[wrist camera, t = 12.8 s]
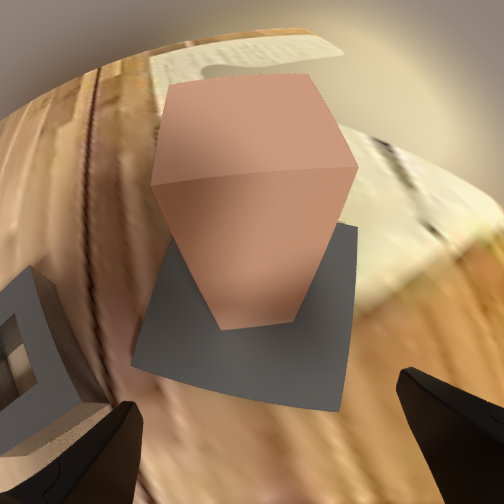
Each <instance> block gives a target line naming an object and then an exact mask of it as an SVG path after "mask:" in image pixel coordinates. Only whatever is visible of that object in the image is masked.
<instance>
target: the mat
mask: <svg viewBox="0 0 504 504" xmlns="http://www.w3.org/2000/svg"><path fill="white" fill-rule="evenodd" d="M357 237H358V227H355V226H350V225H345V224H340V223H337V224H336V227H335V229H334V231H333V234H332V236H331V239H330V241H329V243H328V246H327V248H326V250H325V253H324V255H323V257H322V260H321V262H320V264H319V267H318V269H317V271H316V273H315V276H314V278H313V280H312V282H311V284H310V287H309V289H308V291H307V293H306V295H305V298H304V300H303V302H302V304H301V306H300V308H299V310H298V312H297V315H296V317H295V319H294V321H293V322H288V323H281V324H273V325H266V326H257V327H249V328H239V329H230V330H221V329H220V327H219V326H218V324H217V322H216V320H215V318H214V316H213V314H212V313H211V311H210V309H209V307H208V305H207V303H206V301H205V299H204V297H203V295H202V294H201V292H200V290H199V288H198V286H197V284H196V282H195V280H194V278H193V276H192V274H191V272H190V270H189V268H188V266H187V264H186V262H185V260H184V258H183V256H182V254H181V252H180V250H179V248H178V245H177V243H176V241H175V239H174V237H173V239H172V241H171V244H170V246H169V249H168V252H167V254H166V257H165V260H164V262H163V265H162V268H161V271H160V274H159V276H158V279H157V282H156V285H155V288H154V291H153V294H152V297H151V300H150V303H149V306H148V309H147V312H146V315H145V318H144V321H143V324H142V328H141V331H140V334H139V337H138V341H137V344H136V347H135V351H134V354H133V358H132V361H131V366H133V367H136V368H139V369H142V370H144V371H147V372H150V373H153V374H156V375H159V376H162V377H166V378H169V379H172V380H175V381H178V382H182V383H185V384H189V385H192V386H196V387H200V388H203V389H207V390H211V391H215V392H219V393H223V394H227V395H232V396H236V397H241V398H246V399H250V400H255V401H261V402H266V403H272V404H278V405H284V406H290V407H297V408H304V409H312V410H321V411H331V412H339V409H340V404H341V398H342V393H343V387H344V381H345V374H346V368H347V361H348V353H349V346H350V337H351V328H352V319H353V308H354V296H355V282H356V265H357Z"/></svg>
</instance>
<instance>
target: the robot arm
mask: <svg viewBox="0 0 504 504" xmlns="http://www.w3.org/2000/svg"><path fill="white" fill-rule="evenodd" d="M396 392H397V395H398V397H399V400H400V403H401V405H402V408H403V411H404V413H405V416H406V419H407V422H408V424H409V427H410V429H411V431H412V433H413V435H414V437H415V439H416V441H417V443H418V445H419V447H420V449H421V451H422V453H423V456H424V458H425V460H426V462H427V464H428V466H429V468H430V471H431V473H432V475H433V477H434V479H435V482H436V484H437V486H438V488H439V491H440V493H441V495H442V498H443V500H444V502H445V504H504V408H503V407H500V406H498V405H495V404H493V403H490V402H487V401H486V400H483V399H481V398H479V397H477V396H474V395H472V394H470V393H468V392H465V391H463V390H461V389H459V388H457V387H454V386H452V385H450V384H448V383H446V382H444V381H441V380H439V379H437V378H435V377H433V376H431V375H428V374H426V373H424V372H422V371H420V370H418V369H416V368H414V367H408V368H405V369H402V370H401V371H400V374H399V378H398V381H397V385H396ZM142 433H143V417H142V415H141V413H140V411H139V409H138V407H137V405H136V403H135V402H133V401H123V402H121V403H120V404H119V405H118V406H117V407H116V408H114V409H113V410H112V411H111V412H110V413H109V414H108V415H106V416H105V417H104V418H103V419H102V420H101V421H99V422H98V423H97V424H96V425H95V426H94V427H93V428H91V429H90V430H89V431H88V432H87V433H86V434H84V435H83V436H82V437H81V438H80V439H78V440H77V441H76V442H75V443H74V444H73V445H71V446H70V447H69V448H68V449H67V450H65V451H64V452H63V453H62V454H61V455H60V456H59V457H57V458H56V459H55V460H53V461H52V462H51V463H50V464H48V465H47V466H46V467H45V468H43V469H42V470H41V471H39V472H38V473H36V474H35V475H33V476H32V477H30V478H29V479H27V480H25V481H24V482H22V483H20V484H19V485H17V486H16V487H14V488H12V489H10V490H9V491H6V492H2V493H0V504H133V498H134V492H135V486H136V481H137V475H138V470H139V465H140V458H141V446H142Z"/></svg>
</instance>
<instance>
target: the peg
mask: <svg viewBox="0 0 504 504" xmlns="http://www.w3.org/2000/svg"><path fill="white" fill-rule="evenodd" d="M357 170H358V165H357V163H356V161H355V159H354V156H353V154H352V152H351V150H350V148H349V146H348V144H347V142H346V140H345V138H344V136H343V134H342V132H341V131H340V129H339V127H338V125H337V123H336V121H335V119H334V117H333V116H332V114H331V112H330V110H329V108H328V107H327V105H326V103H325V101H324V100H323V98H322V96H321V95H320V93H319V91H318V89H317V88H316V86H315V85H314V83H313V81H312V80H311V78H310V76H309V75H308V74H260V75H244V76H232V77H221V78H213V79H204V80H197V81H190V82H184V83H178V84H172V85H169V88H168V92H167V96H166V101H165V105H164V110H163V115H162V120H161V125H160V130H159V135H158V140H157V146H156V152H155V158H154V164H153V171H152V178H151V185H150V186H151V189H152V191H153V193H154V196H155V198H156V200H157V202H158V204H159V207H160V209H161V211H162V213H163V216H164V218H165V220H166V222H167V224H168V226H169V229H170V231H171V233H172V235H173V237H174V239H175V241H176V243H177V245H178V248H179V250H180V252H181V254H182V256H183V258H184V260H185V262H186V264H187V266H188V268H189V270H190V272H191V274H192V276H193V278H194V280H195V282H196V284H197V286H198V288H199V290H200V292H201V294H202V295H203V297H204V299H205V301H206V303H207V305H208V307H209V309H210V311H211V313H212V314H213V316H214V318H215V320H216V322H217V324H218V326H219V327H220V329H221V330H230V329H239V328H249V327H257V326H266V325H273V324H281V323H288V322H293V321H294V319H295V317H296V315H297V312H298V310H299V308H300V306H301V304H302V302H303V300H304V298H305V295H306V293H307V291H308V289H309V287H310V284H311V282H312V280H313V278H314V276H315V273H316V271H317V269H318V267H319V264H320V262H321V260H322V257H323V255H324V253H325V250H326V248H327V246H328V243H329V241H330V239H331V236H332V234H333V231H334V229H335V227H336V224H337V222H338V219H339V217H340V214H341V212H342V209H343V207H344V204H345V202H346V199H347V196H348V194H349V191H350V189H351V186H352V183H353V181H354V178H355V175H356V173H357Z"/></svg>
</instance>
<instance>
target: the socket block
mask: <svg viewBox="0 0 504 504" xmlns="http://www.w3.org/2000/svg"><path fill="white" fill-rule="evenodd" d="M22 343H24V346H25V350H26V352H27V355H28V358H29V361H30V364H31V366H32V369H33V372H34V374H35V377H36V379H37V382H38V383H37V384H35V385H34V386H33V387H31V388H30V389H29V390H28V391H26V392H25V393H24V394H22V395H21V396H20V397H19V395H18V392H17V390H16V387H15V384H14V381H13V378H12V376H11V373H10V370H9V367H8V363H7V360H6V357H7V356H8V355H9V354H11V353H12V352H13V351H14V350H15V349H16V348H17V347H18V346H20V345H21V344H22ZM108 404H110V403H109V402H108V400H107V398H106V396H105V395H104V393H103V391H102V390H101V388H100V386H99V384H98V382H97V381H96V379H95V377H94V375H93V373H92V371H91V369H90V367H89V365H88V363H87V361H86V359H85V357H84V355H83V353H82V351H81V349H80V347H79V345H78V343H77V340H76V338H75V336H74V334H73V331H72V329H71V327H70V324H69V322H68V320H67V317H66V315H65V312H64V310H63V307H62V304H61V302H60V299H59V296H58V293H57V291H56V288H55V285H54V283H53V282H51V281H50V280H49V279H47V278H46V277H45V276H43V275H42V274H41V273H39V272H38V271H37V270H36V269H34V268H33V267H32V266H30V265H29V266H28V267H27V268H26V269H25V270H23V271H22V272H21V273H20V274H19V275H18V276H17V277H16V278H15V279H14V280H13V281H11V282H10V283H9V284H8V285H7V286H6V287H5V288H4V289H3V290H2V291H1V292H0V457H15V456H26V455H28V454H30V453H32V452H33V451H35V450H37V449H38V448H40V447H42V446H43V445H45V444H47V443H48V442H50V441H52V440H53V439H55V438H56V437H58V436H60V435H61V434H63V433H64V432H66V431H68V430H69V429H71V428H72V427H74V426H76V425H77V424H79V423H80V422H82V421H83V420H85V419H87V418H88V417H90V416H91V415H93V414H94V413H96V412H97V411H99V410H100V409H102V408H103V407H105V406H107V405H108Z"/></svg>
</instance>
